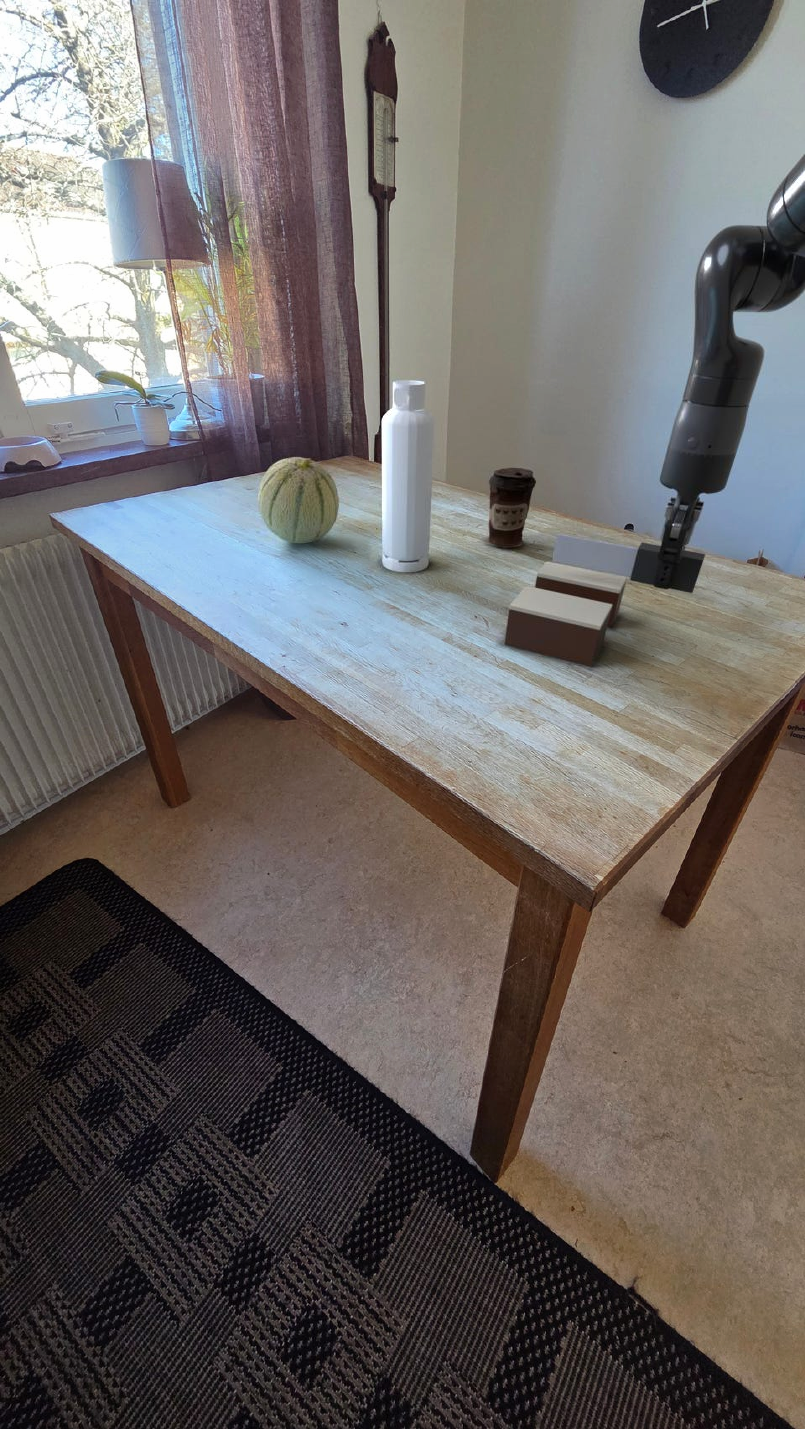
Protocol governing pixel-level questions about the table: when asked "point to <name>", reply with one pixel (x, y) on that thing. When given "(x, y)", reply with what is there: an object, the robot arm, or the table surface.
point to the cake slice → (583, 584)
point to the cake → (557, 625)
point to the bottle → (407, 478)
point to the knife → (626, 560)
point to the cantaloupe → (298, 500)
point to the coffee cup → (509, 505)
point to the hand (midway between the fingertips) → (663, 582)
